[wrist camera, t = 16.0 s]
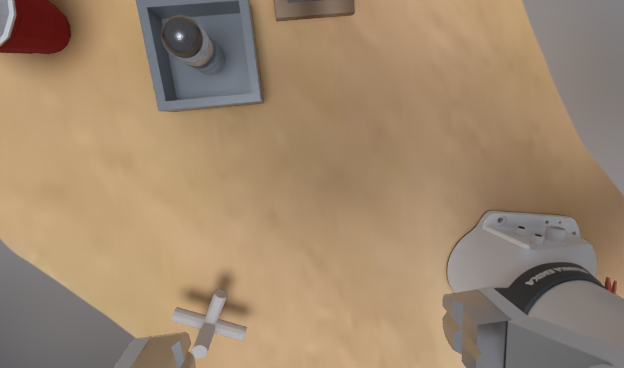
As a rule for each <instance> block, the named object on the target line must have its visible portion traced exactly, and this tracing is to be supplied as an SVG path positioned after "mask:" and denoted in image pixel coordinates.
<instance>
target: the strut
mask: <svg viewBox="0 0 624 368" xmlns="http://www.w3.org/2000/svg"><path fill="white" fill-rule="evenodd" d="M161 35H162V42H163V45H164V47H165V49H166V50H167V52H168V53H169V54H170V55H172V56H173V57H174V58H176V59H178V60H180V61H182V62H183V63H185V64H187V65H189V66H191V67H192V68H194V69H196V70H198V71H200V72H201V73H203V74H206V75H216V74H218V73H220V72H221V71H222V70H223V68H224V66H225V62H226V58H225V54H224V52H223V50H222V49H221V48H220V46H219V45H218V44H217V43H216V42H215V41H214V40H213V39H212V38H211V37H210V35H209V34H208V33H207V32H206V31H205V30H204V29H203V28H202V27H201V25H200V24H199V23H198V22H197V21H196V20H194V19H193V18H191V17H189V16H185V15H177V16H173V17H171V18H169V19H168V20H166V21H165V23H164V25H163V27H162V31H161Z"/></svg>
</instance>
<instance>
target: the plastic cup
mask: <svg viewBox="0 0 624 368" xmlns="http://www.w3.org/2000/svg"><path fill="white" fill-rule="evenodd" d="M69 39H70V26H69V24H68V22H67V19H66V17H65V16H64V15H63V14H62V13H61V12H60V11H59V10H58V9H57V8H56V6H54V5H53V4H52V3H50V2H49V1H48V0H0V52H1V53H29V54H32V53H43V54H50V53H55V52H58V51H61V50H62V49H63V48H64V47H65V46H66V45H67V44H68V41H69Z"/></svg>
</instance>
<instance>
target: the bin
mask: <svg viewBox="0 0 624 368" xmlns="http://www.w3.org/2000/svg"><path fill="white" fill-rule="evenodd" d="M136 4H137V8H138V13H139V18H140V23H141V28H142V33H143V37H144V42H145V47H146V52H147V57H148V62H149V66H150V71H151V76H152V81H153V86H154V90H155V95H156V100H157V105H158V110H159V111H168V112H178V111H188V110H198V109H208V108H219V107H229V106H239V105H250V104H260V103H264V102H263V94H262V86H261V78H260V71H259V63H258V55H257V48H256V40H255V32H254V25H253V17H252V9H251V4H250V1H249V0H136ZM177 15H185V16H189V17H191V18H193V19H194V20H196V21H197V22H198V23H199V24H200V25H201V27H202V28H203V29H204V30H205V31H206V32H207V33H208V34H209V35H210V37H211V38H212V39H213V40H214V41H215V42H216V43H217V44H218V45H219V46H220V48H221V49H222V50H223V52H224V54H225V58H226V62H225V66H224V68H223V70H222V71H221V72H220V73H218V74H216V75H206V74H203V73H201V72H200V71H198V70H196V69H194V68H192V67H191V66H189V65H187V64H185V63H183V62H182V61H180V60H178V59H176V58H174V57H173V56H172V55H170V54H169V53H168V52H167V50H166V49H165V47H164V45H163V42H162V35H161V31H162V27H163V25H164V23H165V21H166V20H168V19H169V18H171V17H173V16H177Z"/></svg>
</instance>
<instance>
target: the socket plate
mask: <svg viewBox="0 0 624 368" xmlns="http://www.w3.org/2000/svg"><path fill="white" fill-rule="evenodd" d="M274 3H275V12H276V20H277V21H285V20H297V19H310V18H322V17H335V16H347V15H353V14H354V12H355V9H354V0H274Z"/></svg>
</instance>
